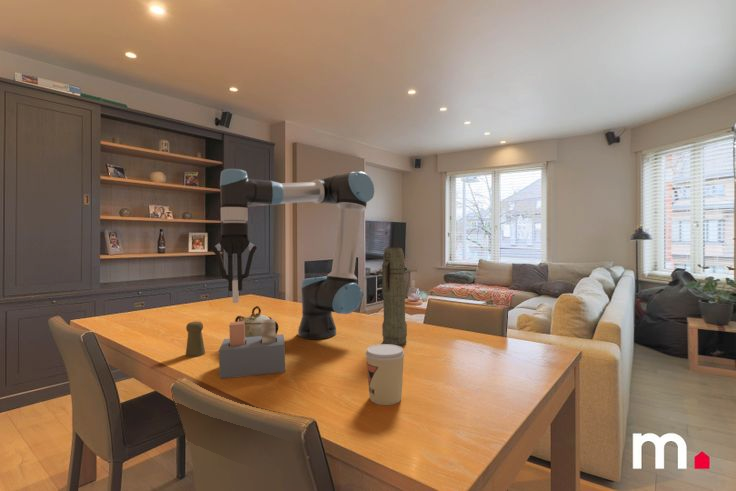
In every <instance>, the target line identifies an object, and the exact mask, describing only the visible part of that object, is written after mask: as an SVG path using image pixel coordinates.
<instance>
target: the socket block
mask: <svg viewBox="0 0 736 491" xmlns="http://www.w3.org/2000/svg"><path fill="white" fill-rule="evenodd" d="M218 364H219V369H218V371H219V372H218V373H219V380H220V379H229V378H238V377H239V378H240V377H249V376H258V375H269V374H278V373H286V345H285V335H284V334H277V335H276V342H271V343H262V336H256V337H245V345H235V346H230V338H224V339H223V341H222V343H221V345H220V347H219V349H218Z"/></svg>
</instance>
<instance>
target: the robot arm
mask: <svg viewBox="0 0 736 491" xmlns="http://www.w3.org/2000/svg"><path fill="white" fill-rule="evenodd" d="M219 178H220V179H219V187H220V221H221V222H222V223H221V224H220V239H219V242H218V243H217V244H216V245H214V246H213V245H212V247H211V251H212V252H213V254H215V258H216V262H217V266H218V269H219V272H220V276H221V279H225V280H227V282H228V291H229V292H232V303H233V304H236V303H239V301H240V299H239V298H240V296H239V295H240V294H239V293H240V291H243V280H244V279H247V278H248V277H249V275H250V270H251V266H252V262H253V259H254V254H255V252H256V250H258V245H255V244H253V243H251V241H250V238H249V224H248V223H247V222H248V221H249V220H248V219H249V215H248V212H249V210H248V209H249V208H248V207H259V206H279V205H283V204H284V205H285V204H296V203H309V202H312V203H314V204H316V205H317V204H318V205H319V204H328V205H329V204H331V205H336V207H337V208H338V211H339V212H338V220H337V226H336V235H335V241H334V242H335V243H334V249H333V257H332V265H331V266H332V267H331V271H330V272H329V273H328V274H327V275H326V276H319V277H318V276H317V277H310V278H304V279H302V282H301V306H302V307H301V309H302V310H301V312H302V315H301V316H302V317H301V320H300V323H299V326H298V329H297V330H298V331H297V332H298V337H300V338H302V339H309V340H319V339H326V338H327V339H328V338H332V337H335V336H336V335H337V326H336V323H335V321H334V317H333V314H332V313H336V314H340V315H341V314H343V315H348V314H349V315H350V314H351V313H354V312H355V311H356V310H357V309H358V308H359V306H360V304H361V302H362V297H363V293H362V292H363V291H362V289H361V287H360V285H359V284H358V277H357V276H356V275H355V272H356V271H355V269H356V262H357V254H358V253H357V252H358V246H359V245H358V244H359V237H360V236H359V235H360V230H361V219H362V213H363V212H364V211H365V210H366V209H367V204H368V202H370V201H371V200H372V199H373V198H374V196H375V186H374V182H373V180H372V178H371V177H370V175H369V174H367V173H366V172H364V171H352V172H348V173H342V174H336V175H331V176H328V177H323V178H315V179H313V180H312V181H307V182H306V181H304V182H281V183H280V182H278V181H273V180H263V179H255V178H249V176H248V173H247V171H246V170H244V169H240V168H227V169H223V170H222V171H220V177H219ZM221 247H222V248H221ZM222 249H223V250H224V251H225V253H226V254H227V270H226V267H225V263H224V260H223V257H222V253H221V251H222ZM246 249H248V251H249V253H248V257H247V260H246V261H247V262H246V266H245V269H244V273H243V253H244V252H245V251H246ZM234 254H236V262H237V263H236V266H237V269H236V270H237V278H236V279H234Z"/></svg>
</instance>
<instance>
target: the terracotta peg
mask: <svg viewBox="0 0 736 491" xmlns="http://www.w3.org/2000/svg"><path fill="white" fill-rule="evenodd" d="M228 327H229V328H228V330H229V339H230V346H235V345H245V321H240V322H235V321H230V323H229V326H228Z"/></svg>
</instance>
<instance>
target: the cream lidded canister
mask: <svg viewBox="0 0 736 491" xmlns="http://www.w3.org/2000/svg"><path fill="white" fill-rule="evenodd" d="M365 356H366V368H367V370H366V371H367V382H368V392H369V393H368V394H369V399H370V401H371V402H372V403H374V404H376V405H380V406H390V405H391V406H392V405H395V404H398V403H400V402H401V401H402V394H403V379H404V378H403V377H404V376H403V375H404V356H405V351H404V349H403V347H402V346H401V345H400V346H397V345H392V344H384V343H378V344H373V345H370V346H368V347H367V348H366V351H365Z"/></svg>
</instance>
